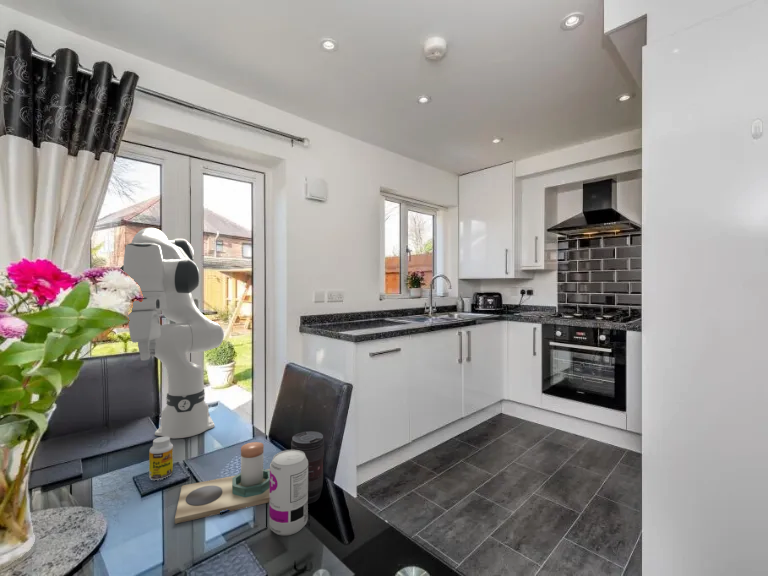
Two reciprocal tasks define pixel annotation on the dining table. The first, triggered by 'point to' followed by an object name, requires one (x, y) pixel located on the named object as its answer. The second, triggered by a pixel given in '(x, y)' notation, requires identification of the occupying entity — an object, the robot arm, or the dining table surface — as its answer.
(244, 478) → the lidded canister
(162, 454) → the supplement bottle
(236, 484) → the seat board
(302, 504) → the supplement can
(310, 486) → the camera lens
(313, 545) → the dining table surface
